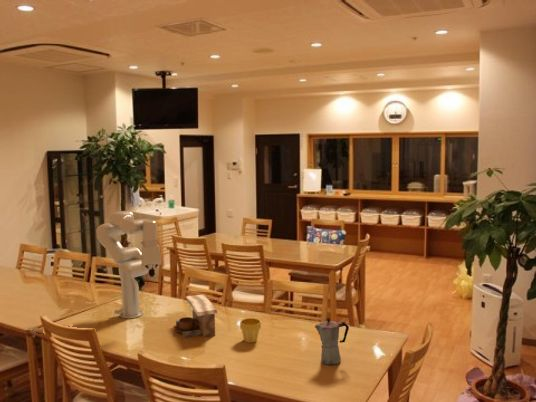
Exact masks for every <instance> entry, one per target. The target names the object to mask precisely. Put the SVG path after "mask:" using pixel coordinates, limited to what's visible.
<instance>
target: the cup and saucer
mask: <svg viewBox="0 0 536 402" xmlns="http://www.w3.org/2000/svg"><path fill="white" fill-rule="evenodd" d="M193 321H196V324H197V323H198V321H197V320H193V317H189V316H187V317H181V318H180V319H179V324H180V325H178V326H176V325H175V327H174V329H175V331H176V332H178V333H180V334H182V332H186V331H193V330H198V326H197V325H196V324H193Z"/></svg>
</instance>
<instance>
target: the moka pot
mask: <svg viewBox="0 0 536 402" xmlns="http://www.w3.org/2000/svg"><path fill="white" fill-rule="evenodd" d="M342 327H345V331H344V334H343V338H342V340H339V337H340V336H339V335H340V334H339V333H340V328H342ZM314 328H315V329H316V330H317V333H318V334H319V338H320V342H321V355H320V357H321V359H320V362H321V363H323V364H324V365H326V366H327V365H329V366H333V365H337V364H340V363H341V360H342V358H341V353H340V349H339V343H340V344H341V343H342V344H343V343H345V342H346V339H347V336H348V332H349V329H350V327H349V325H348V324H347V322H345V321H342V322H336V321H333V320H332V321H331V319H330V318H326V321H321V322H319V323H318V324H315V326H314Z"/></svg>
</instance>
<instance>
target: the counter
mask: <svg viewBox="0 0 536 402" xmlns="http://www.w3.org/2000/svg"><path fill="white" fill-rule="evenodd" d="M185 298H186V299H185V300H186V302H187V303H188V304H189V306H190V307H191V311H192V314H191V315H192V318H193V320H197V321H198V323H197V324H196V321H193V324H196V325H197V326H198V328H197V330H193V331H186V332H182V333H181V334H182V338H190V337H197V336H203V338H208V337H214V336H216V319H215V317H216V314H218V309H217V308H216V306H214V305H213V303H212V302H211V301H210V299H209V298H207V296H206V295H205V294H196V295H189V296H186V297H185ZM179 320H180V319H179ZM179 320H175V327H176V326H178V325H180V324H179Z"/></svg>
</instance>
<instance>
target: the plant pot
mask: <svg viewBox="0 0 536 402" xmlns="http://www.w3.org/2000/svg"><path fill="white" fill-rule="evenodd" d="M261 322H262V321H261V320H260V319H258V318H255V317H248V318H243V319H242V320H240V322H239V325H240V326H239V327H240V330H241V334H242V336H243V337H242V338H243V341H244V342H245V343H249V344H250V343H251V344H252V343H256V342H257V341H258V337H259V333H260V329H262V328H261V327H262V326H261V325H262V323H261Z"/></svg>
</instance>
